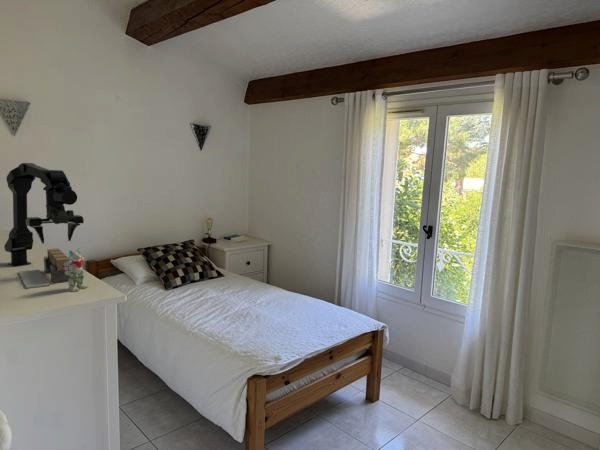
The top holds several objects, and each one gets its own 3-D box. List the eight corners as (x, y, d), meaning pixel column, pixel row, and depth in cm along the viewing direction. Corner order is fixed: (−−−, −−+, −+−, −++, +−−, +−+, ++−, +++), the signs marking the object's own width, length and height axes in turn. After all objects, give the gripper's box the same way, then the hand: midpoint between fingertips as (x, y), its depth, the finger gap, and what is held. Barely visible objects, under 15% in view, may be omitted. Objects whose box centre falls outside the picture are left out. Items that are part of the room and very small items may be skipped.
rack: (44, 271, 166) (43, 256, 165) (63, 269, 170) (63, 254, 169) (52, 283, 151) (52, 267, 150) (74, 280, 155) (73, 265, 154)
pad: (18, 272, 162) (18, 271, 162) (39, 270, 167) (39, 269, 167) (26, 288, 143) (26, 287, 143) (49, 285, 148) (49, 284, 148)
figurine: (63, 293, 141) (61, 251, 139) (62, 287, 147) (60, 246, 145) (89, 290, 145) (87, 249, 143) (86, 284, 152) (85, 245, 149)
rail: (47, 258, 167) (47, 249, 166) (58, 257, 169) (58, 248, 169) (57, 270, 150) (57, 260, 150) (69, 269, 153) (69, 259, 152)
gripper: (32, 205, 144) (34, 248, 146) (88, 203, 158) (89, 242, 160) (24, 202, 152) (26, 243, 154) (78, 201, 165) (79, 238, 167)
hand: (56, 242), depth 159 cm, fingers open, 9 cm apart
